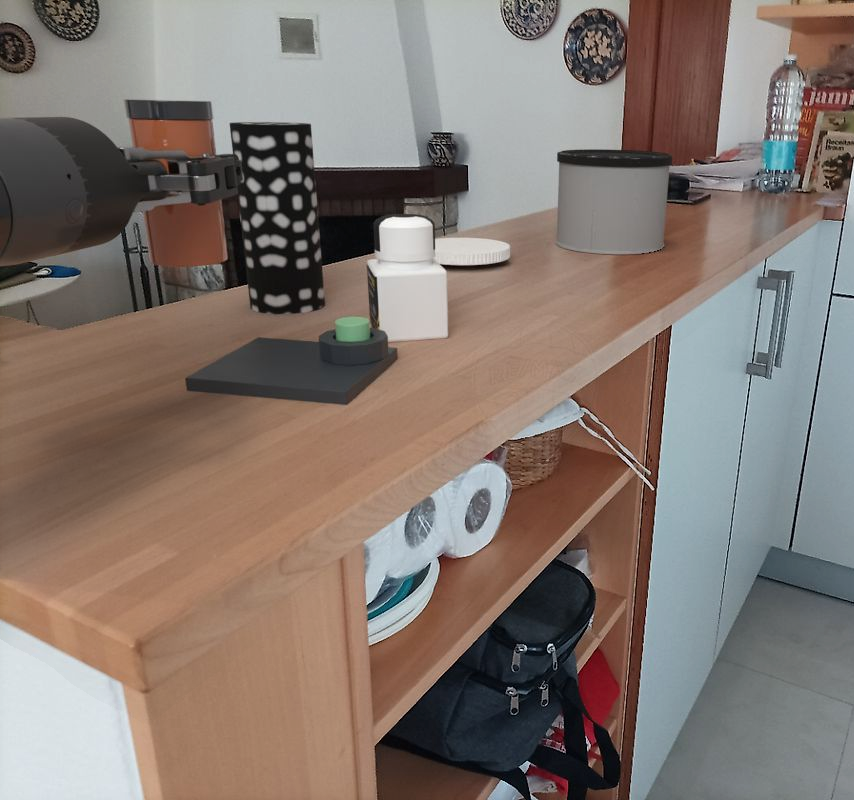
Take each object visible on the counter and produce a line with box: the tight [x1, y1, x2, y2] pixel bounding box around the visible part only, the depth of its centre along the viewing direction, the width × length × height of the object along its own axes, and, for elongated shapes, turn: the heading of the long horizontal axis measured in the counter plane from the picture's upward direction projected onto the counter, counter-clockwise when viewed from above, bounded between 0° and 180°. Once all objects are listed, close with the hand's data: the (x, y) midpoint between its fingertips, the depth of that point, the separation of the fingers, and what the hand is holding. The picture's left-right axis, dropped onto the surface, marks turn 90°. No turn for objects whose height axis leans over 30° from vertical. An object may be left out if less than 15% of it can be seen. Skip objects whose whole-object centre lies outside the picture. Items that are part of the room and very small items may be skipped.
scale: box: [184, 327, 399, 406], centre depth 68 cm, size 14×12×3 cm
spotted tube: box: [229, 121, 326, 315], centre depth 87 cm, size 8×8×20 cm
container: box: [555, 148, 674, 256], centre depth 131 cm, size 19×19×15 cm
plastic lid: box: [434, 237, 511, 266], centre depth 116 cm, size 14×14×2 cm
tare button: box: [334, 316, 371, 342], centre depth 70 cm, size 3×3×2 cm
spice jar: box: [123, 98, 229, 268], centre depth 56 cm, size 6×6×11 cm
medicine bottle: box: [366, 213, 449, 343], centre depth 80 cm, size 7×7×12 cm
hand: (197, 167), depth 58 cm, fingers closed on spice jar, 5 cm apart
